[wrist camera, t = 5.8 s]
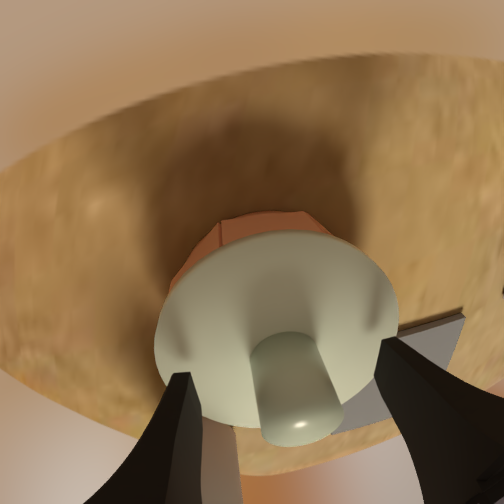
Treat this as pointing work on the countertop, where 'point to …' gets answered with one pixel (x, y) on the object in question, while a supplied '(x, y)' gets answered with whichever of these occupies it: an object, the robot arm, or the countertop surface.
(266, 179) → the countertop surface
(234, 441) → the beverage can
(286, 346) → the lid
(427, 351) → the mat
